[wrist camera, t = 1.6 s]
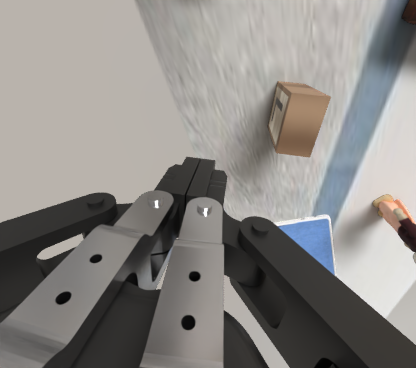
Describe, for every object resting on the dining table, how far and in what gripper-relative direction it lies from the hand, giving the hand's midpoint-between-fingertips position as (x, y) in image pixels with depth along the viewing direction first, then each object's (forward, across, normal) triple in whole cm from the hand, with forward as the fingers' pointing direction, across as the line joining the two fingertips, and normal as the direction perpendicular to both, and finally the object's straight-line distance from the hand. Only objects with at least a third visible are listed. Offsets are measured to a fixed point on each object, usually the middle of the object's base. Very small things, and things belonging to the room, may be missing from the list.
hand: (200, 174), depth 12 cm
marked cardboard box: (+22, -8, 0) cm, 24 cm away
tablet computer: (+23, -18, +28) cm, 40 cm away
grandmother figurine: (+23, -27, +13) cm, 38 cm away
